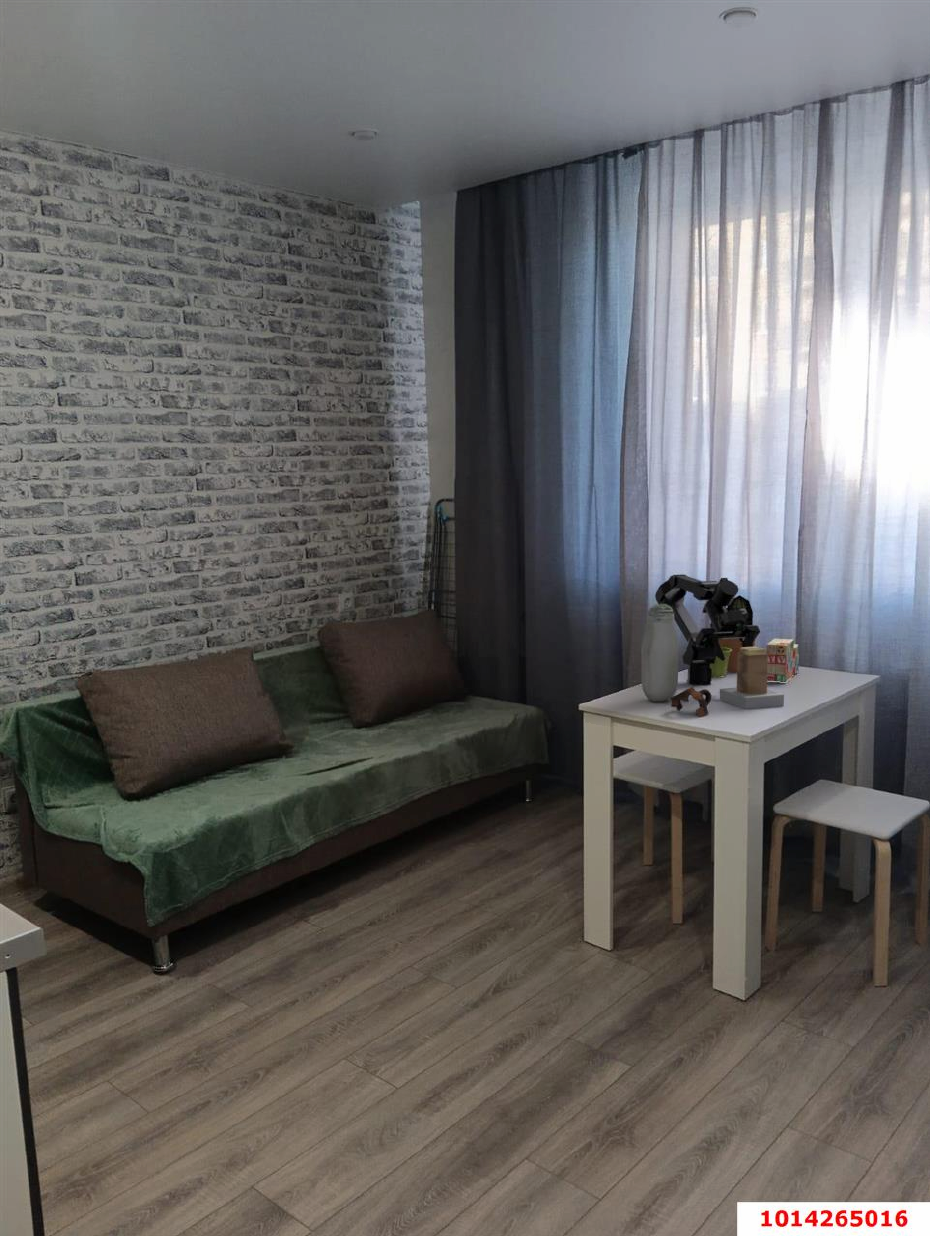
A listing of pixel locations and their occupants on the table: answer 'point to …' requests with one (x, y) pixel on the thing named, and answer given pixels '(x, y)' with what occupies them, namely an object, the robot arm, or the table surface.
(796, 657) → the stack of blocks
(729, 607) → the potted plant
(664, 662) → the glass bottle
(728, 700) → the dock
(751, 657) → the brown rectangular block
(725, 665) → the plant pot
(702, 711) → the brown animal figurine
